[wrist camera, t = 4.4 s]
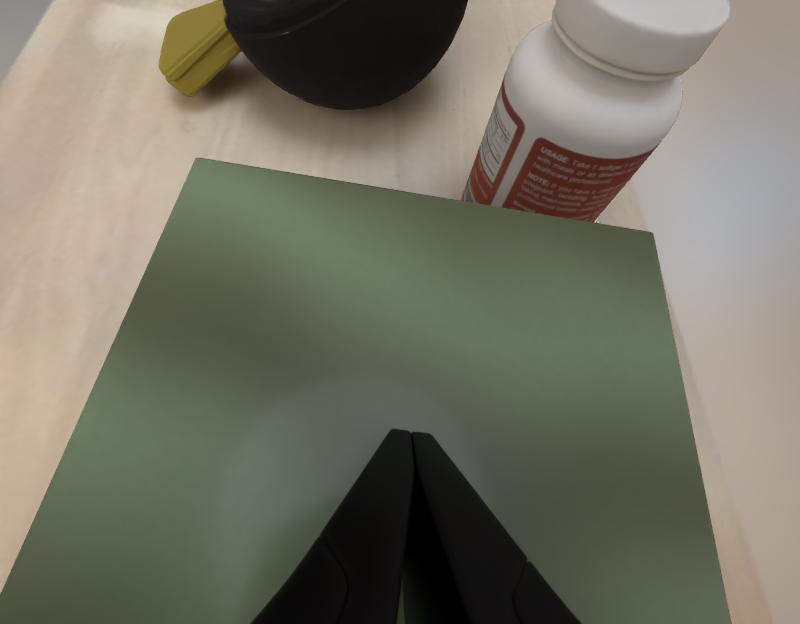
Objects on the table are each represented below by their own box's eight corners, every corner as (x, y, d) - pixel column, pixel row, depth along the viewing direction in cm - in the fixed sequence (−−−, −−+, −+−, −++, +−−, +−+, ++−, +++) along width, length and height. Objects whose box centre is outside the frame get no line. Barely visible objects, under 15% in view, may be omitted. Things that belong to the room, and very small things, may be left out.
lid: (204, 176, 12) (195, 155, 12) (637, 246, 13) (654, 231, 12) (-30, 728, 7) (-76, 755, 6) (734, 795, 8) (774, 825, 7)
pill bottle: (593, 231, 22) (795, 5, 12) (520, 296, 20) (695, 83, 10) (508, 160, 24) (625, -92, 14) (431, 213, 21) (505, -43, 11)
